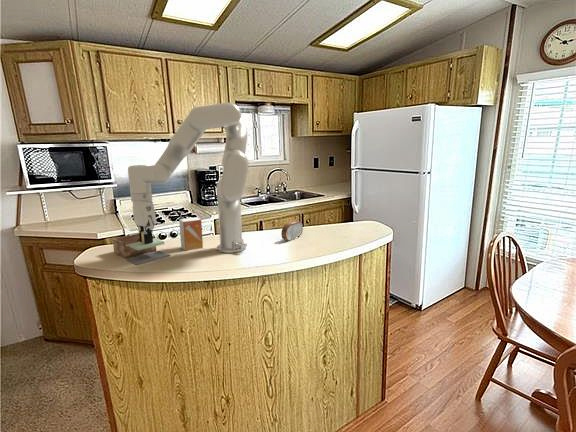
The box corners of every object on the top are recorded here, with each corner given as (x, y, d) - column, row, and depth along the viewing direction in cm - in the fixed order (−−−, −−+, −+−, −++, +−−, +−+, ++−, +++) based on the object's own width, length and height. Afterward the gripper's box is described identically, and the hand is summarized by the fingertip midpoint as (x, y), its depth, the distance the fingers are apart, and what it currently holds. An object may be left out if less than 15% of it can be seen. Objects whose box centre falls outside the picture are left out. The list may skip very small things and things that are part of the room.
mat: (170, 255, 132) (170, 255, 132) (136, 265, 122) (136, 264, 122) (159, 251, 138) (159, 250, 138) (125, 259, 128) (125, 259, 127)
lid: (164, 243, 131) (163, 230, 129) (138, 250, 123) (136, 236, 121) (154, 240, 136) (153, 227, 135) (128, 246, 128) (127, 233, 127)
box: (156, 250, 138) (155, 236, 137) (125, 258, 129) (123, 243, 127) (144, 246, 145) (142, 232, 144) (114, 253, 136) (112, 238, 134)
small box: (185, 251, 138) (182, 221, 135) (181, 247, 143) (178, 219, 140) (203, 247, 142) (201, 219, 140) (198, 244, 147) (197, 216, 145)
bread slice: (298, 235, 162) (298, 218, 160) (304, 235, 160) (304, 219, 158) (280, 242, 150) (280, 224, 148) (286, 243, 148) (286, 225, 146)
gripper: (161, 197, 123) (165, 243, 126) (141, 194, 133) (146, 236, 137) (141, 200, 117) (147, 248, 121) (122, 196, 128) (128, 240, 131)
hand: (146, 241), depth 129 cm, fingers closed on lid, 3 cm apart
